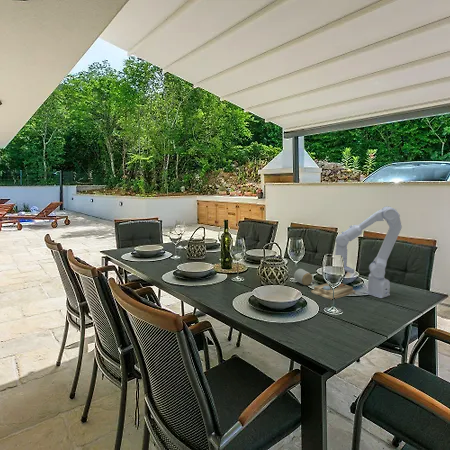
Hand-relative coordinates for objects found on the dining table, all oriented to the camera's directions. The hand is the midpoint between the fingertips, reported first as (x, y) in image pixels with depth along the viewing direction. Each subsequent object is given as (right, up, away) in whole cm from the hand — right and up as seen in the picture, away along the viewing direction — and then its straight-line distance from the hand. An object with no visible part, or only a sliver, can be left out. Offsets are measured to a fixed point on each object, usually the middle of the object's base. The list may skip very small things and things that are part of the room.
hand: (339, 283), depth 170 cm
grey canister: (-15, -3, +13) cm, 20 cm away
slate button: (-8, -3, -5) cm, 10 cm away
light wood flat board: (-4, -4, -2) cm, 6 cm away
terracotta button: (0, -2, 0) cm, 2 cm away
